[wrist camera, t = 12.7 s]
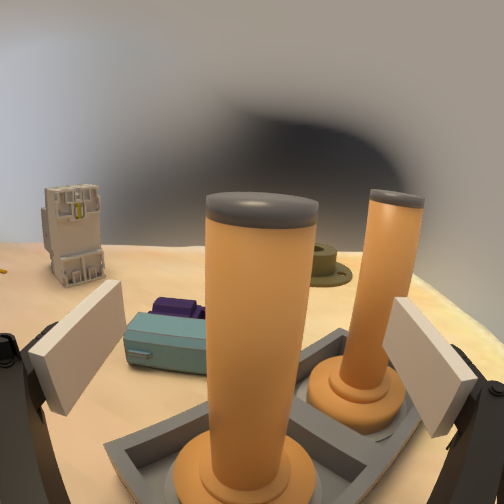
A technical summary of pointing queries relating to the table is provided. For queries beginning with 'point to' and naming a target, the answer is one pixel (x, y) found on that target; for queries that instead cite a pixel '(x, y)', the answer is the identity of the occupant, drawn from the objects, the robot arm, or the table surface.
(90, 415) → the table surface
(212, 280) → the orange joystick peg
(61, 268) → the circuit breaker
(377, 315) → the orange capped peg
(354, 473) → the tray
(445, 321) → the table surface
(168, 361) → the pistol
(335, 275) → the flange
